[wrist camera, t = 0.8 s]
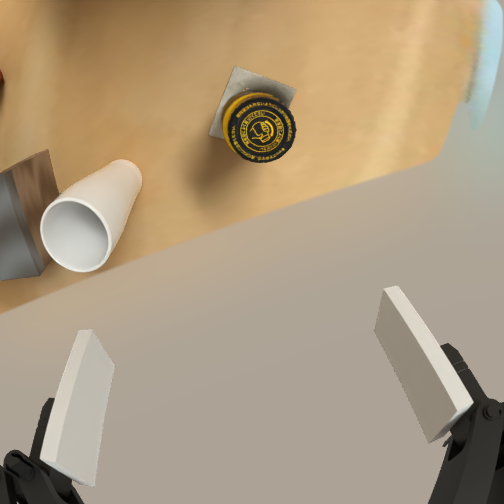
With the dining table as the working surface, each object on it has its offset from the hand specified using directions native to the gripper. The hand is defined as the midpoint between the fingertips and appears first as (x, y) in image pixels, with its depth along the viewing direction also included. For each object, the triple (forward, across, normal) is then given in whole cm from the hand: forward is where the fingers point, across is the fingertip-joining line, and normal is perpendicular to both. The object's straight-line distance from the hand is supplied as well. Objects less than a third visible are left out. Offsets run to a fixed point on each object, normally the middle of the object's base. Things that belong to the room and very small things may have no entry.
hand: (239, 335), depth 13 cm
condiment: (+26, +4, +6) cm, 27 cm away
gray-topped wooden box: (+25, -32, +2) cm, 41 cm away
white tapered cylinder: (+26, -12, +1) cm, 28 cm away
